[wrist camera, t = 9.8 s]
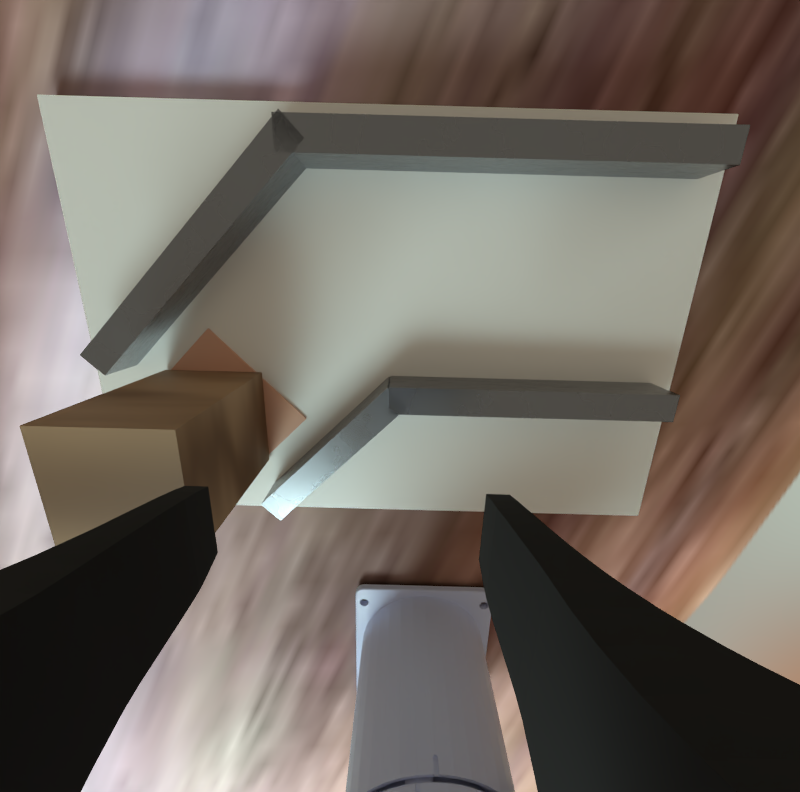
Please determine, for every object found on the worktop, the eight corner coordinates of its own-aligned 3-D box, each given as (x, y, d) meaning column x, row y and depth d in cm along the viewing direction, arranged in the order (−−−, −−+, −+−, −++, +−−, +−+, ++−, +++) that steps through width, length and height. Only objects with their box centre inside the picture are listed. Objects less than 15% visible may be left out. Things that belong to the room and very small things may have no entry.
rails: (621, 505, 20) (644, 530, 18) (144, 492, 20) (117, 516, 18) (706, 141, 15) (751, 121, 13) (70, 124, 15) (21, 101, 13)
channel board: (631, 509, 20) (639, 516, 20) (134, 495, 20) (125, 503, 20) (725, 120, 15) (740, 112, 14) (50, 101, 15) (34, 93, 14)
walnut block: (269, 459, 19) (196, 558, 12) (180, 457, 19) (57, 554, 12) (261, 372, 18) (175, 429, 11) (165, 369, 18) (19, 426, 11)
